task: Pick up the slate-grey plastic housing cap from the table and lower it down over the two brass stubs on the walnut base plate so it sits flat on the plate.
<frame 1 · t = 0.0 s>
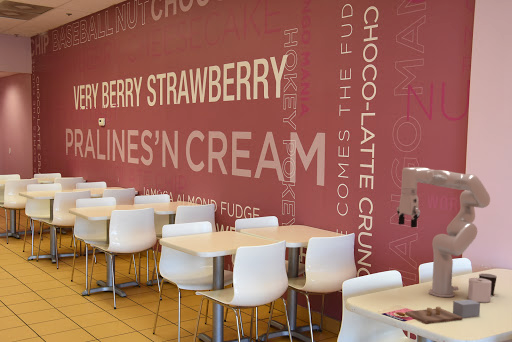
hand: (407, 225, 265), 37 cm above the table, tool pointing down, fingers open, 9 cm apart
housing cap: (466, 315, 241), on the table
toilet tissue: (479, 300, 267), on the table
housing base: (433, 317, 236), on the table
coffee mug: (486, 293, 281), on the table
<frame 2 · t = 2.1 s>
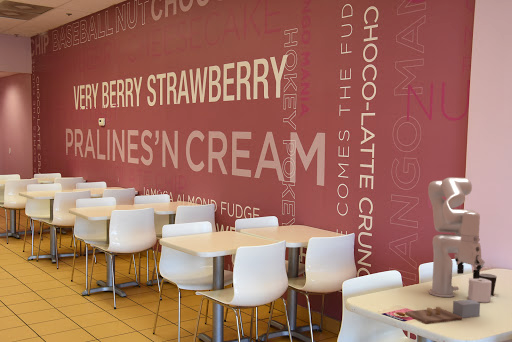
hand: (468, 276, 240), 18 cm above the table, tool pointing down, fingers open, 9 cm apart
nothing on the table moved.
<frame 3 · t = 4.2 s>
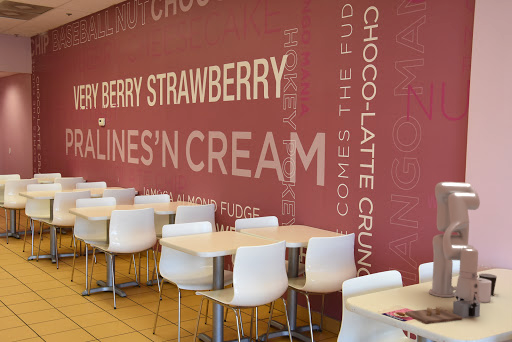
hand: (466, 313, 241), 1 cm above the table, tool pointing down, fingers closed on housing cap, 6 cm apart
housing cap: (466, 315, 241), on the table, touching gripper
everything else where it was.
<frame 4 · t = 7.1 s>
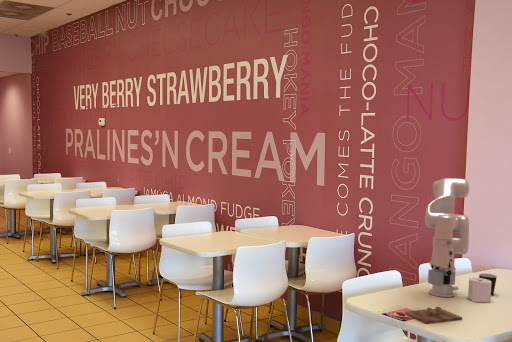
hand: (441, 282, 236), 16 cm above the table, tool pointing down, fingers closed on housing cap, 6 cm apart
housing cap: (441, 283, 236), point 15 cm above the table, touching gripper
everything else where it was.
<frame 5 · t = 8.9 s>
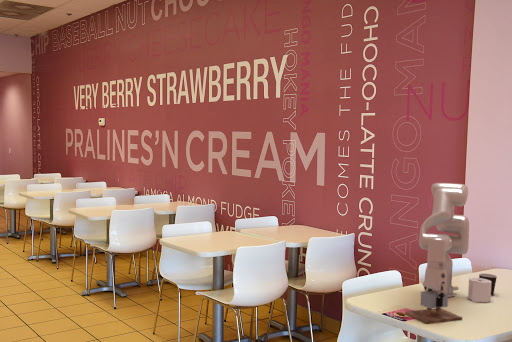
hand: (434, 304, 236), 6 cm above the table, tool pointing down, fingers closed on housing cap, 6 cm apart
housing cap: (433, 305, 236), point 5 cm above the table, touching gripper
everything else where it was.
when the fingers open (2 cm above the table, at t = 10.1 s): housing cap stays where it is, resting on housing base.
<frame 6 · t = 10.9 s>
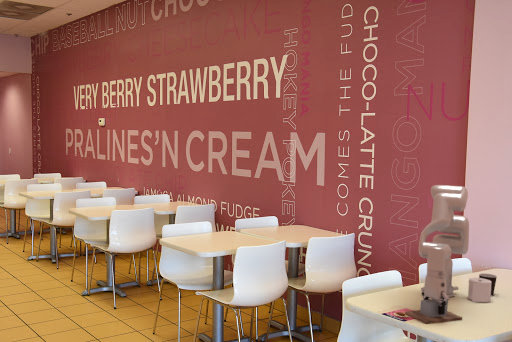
hand: (433, 311, 236), 3 cm above the table, tool pointing down, fingers open, 9 cm apart
housing cap: (433, 314, 236), point 1 cm above the table, touching housing base
everything else where it was.
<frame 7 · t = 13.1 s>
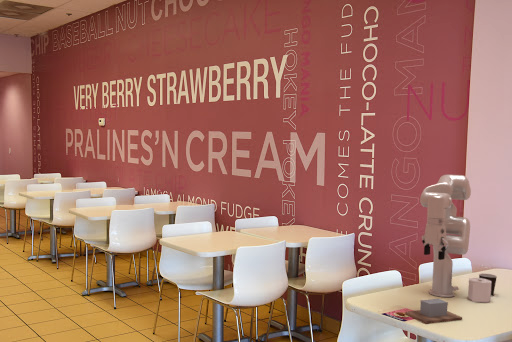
hand: (434, 256, 248), 25 cm above the table, tool pointing down, fingers open, 9 cm apart
nothing on the table moved.
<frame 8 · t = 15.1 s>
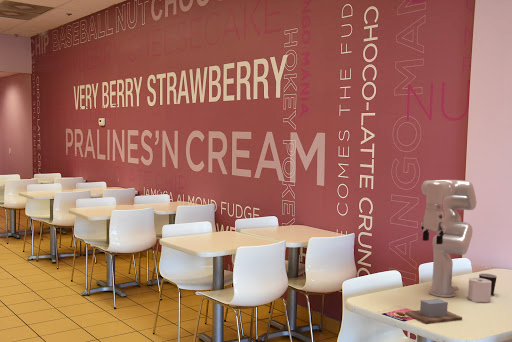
hand: (432, 242, 257), 30 cm above the table, tool pointing down, fingers open, 9 cm apart
nothing on the table moved.
at the end: housing cap 0.0 cm from the housing base (horizontally); housing cap point 1.2 cm above the table; housing cap tilted 0° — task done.
